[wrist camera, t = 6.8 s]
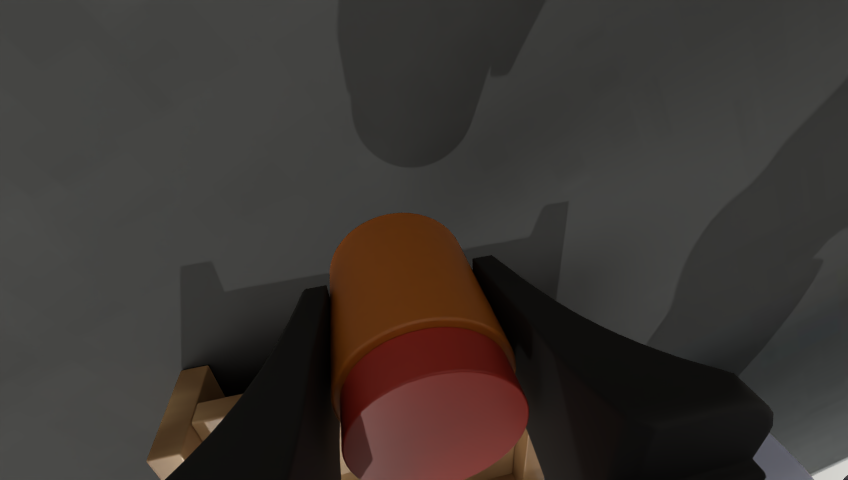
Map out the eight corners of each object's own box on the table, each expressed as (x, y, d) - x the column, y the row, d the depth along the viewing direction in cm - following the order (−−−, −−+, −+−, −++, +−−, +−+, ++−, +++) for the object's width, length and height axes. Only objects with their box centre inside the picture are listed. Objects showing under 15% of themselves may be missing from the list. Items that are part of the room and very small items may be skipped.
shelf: (521, 302, 20) (588, 411, 15) (512, 428, 26) (558, 539, 21) (180, 370, 18) (121, 522, 13) (252, 491, 24) (231, 630, 19)
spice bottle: (460, 201, 13) (547, 341, 8) (463, 308, 15) (532, 469, 10) (316, 224, 12) (308, 392, 7) (343, 331, 14) (351, 514, 9)
